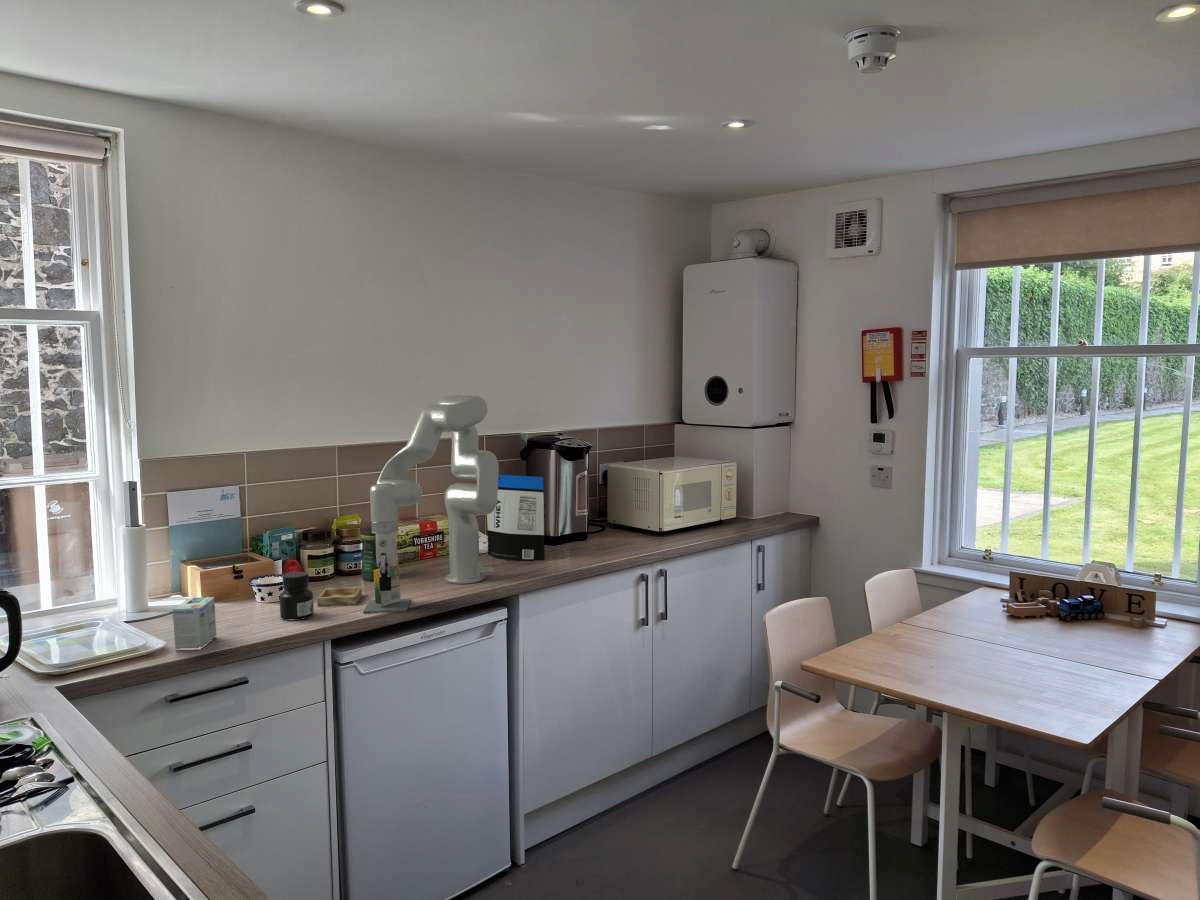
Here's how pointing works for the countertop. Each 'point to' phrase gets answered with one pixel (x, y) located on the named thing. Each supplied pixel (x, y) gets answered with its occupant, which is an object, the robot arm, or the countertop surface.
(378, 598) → the crayon box
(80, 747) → the countertop surface
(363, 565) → the coffee jar
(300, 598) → the ink bottle
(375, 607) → the mat
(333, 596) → the tray
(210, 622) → the light bulb box
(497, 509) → the protein powder
